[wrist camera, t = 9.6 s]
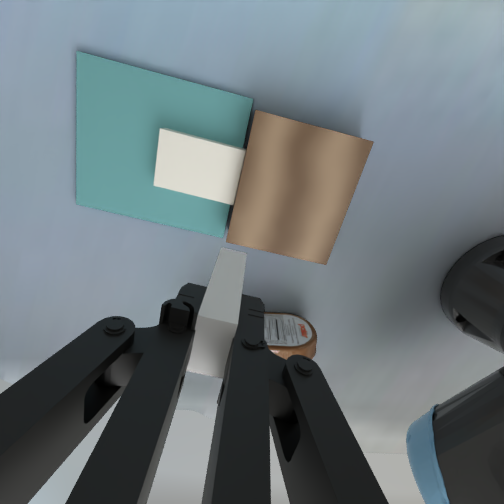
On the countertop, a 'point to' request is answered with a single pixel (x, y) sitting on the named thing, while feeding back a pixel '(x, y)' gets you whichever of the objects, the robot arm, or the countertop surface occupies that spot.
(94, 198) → the mat
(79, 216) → the countertop surface
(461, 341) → the countertop surface
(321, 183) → the brown wooden block
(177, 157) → the white rectangular block
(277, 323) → the tin
